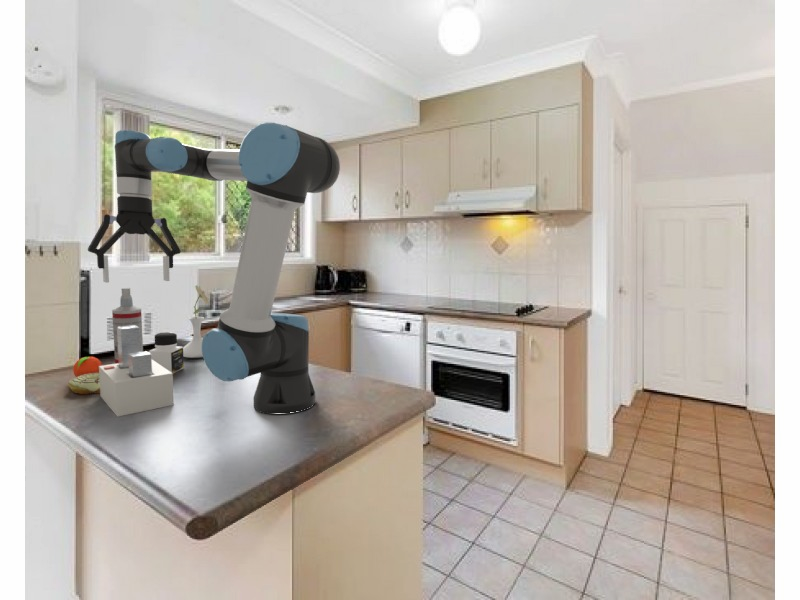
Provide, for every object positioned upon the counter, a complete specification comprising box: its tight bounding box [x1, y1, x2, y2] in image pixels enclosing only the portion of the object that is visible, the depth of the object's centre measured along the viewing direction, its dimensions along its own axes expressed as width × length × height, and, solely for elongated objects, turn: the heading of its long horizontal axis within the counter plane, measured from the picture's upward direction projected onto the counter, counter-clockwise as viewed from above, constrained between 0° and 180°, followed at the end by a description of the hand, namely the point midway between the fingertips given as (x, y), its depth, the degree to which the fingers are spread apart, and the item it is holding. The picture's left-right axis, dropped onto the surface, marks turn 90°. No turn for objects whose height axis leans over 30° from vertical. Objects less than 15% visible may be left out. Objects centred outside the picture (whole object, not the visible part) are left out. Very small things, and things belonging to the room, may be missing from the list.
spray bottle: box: [111, 287, 144, 364], centre depth 142 cm, size 8×8×25 cm
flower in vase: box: [182, 284, 211, 359], centre depth 156 cm, size 13×11×25 cm
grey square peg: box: [128, 350, 152, 378], centre depth 108 cm, size 4×4×13 cm
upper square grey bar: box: [117, 325, 140, 369], centre depth 115 cm, size 4×4×18 cm
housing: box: [99, 359, 175, 418], centre depth 112 cm, size 12×18×8 cm, turn 44°
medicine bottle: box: [148, 331, 185, 375], centre depth 138 cm, size 7×7×12 cm
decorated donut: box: [68, 373, 100, 395], centre depth 120 cm, size 10×11×4 cm
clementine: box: [72, 355, 103, 377], centre depth 126 cm, size 8×7×7 cm
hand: (137, 281), depth 114 cm, fingers open, 13 cm apart
